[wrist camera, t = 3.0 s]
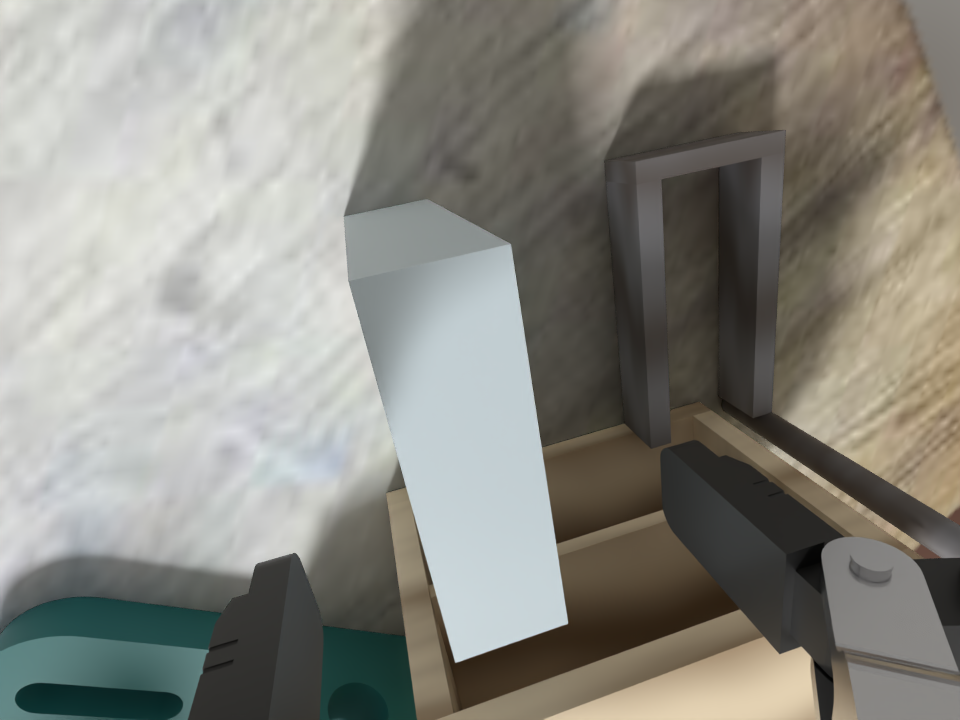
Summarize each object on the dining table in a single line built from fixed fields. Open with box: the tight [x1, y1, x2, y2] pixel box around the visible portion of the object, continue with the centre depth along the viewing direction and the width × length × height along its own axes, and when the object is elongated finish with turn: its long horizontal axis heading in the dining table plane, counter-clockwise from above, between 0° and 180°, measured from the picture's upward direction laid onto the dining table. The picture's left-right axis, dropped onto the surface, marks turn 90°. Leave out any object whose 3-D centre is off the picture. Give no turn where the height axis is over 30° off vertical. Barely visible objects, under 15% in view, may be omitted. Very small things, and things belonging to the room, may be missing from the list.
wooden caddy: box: [386, 130, 960, 720], centre depth 20 cm, size 22×18×12 cm
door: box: [344, 199, 568, 663], centre depth 17 cm, size 10×4×11 cm, turn 10°
